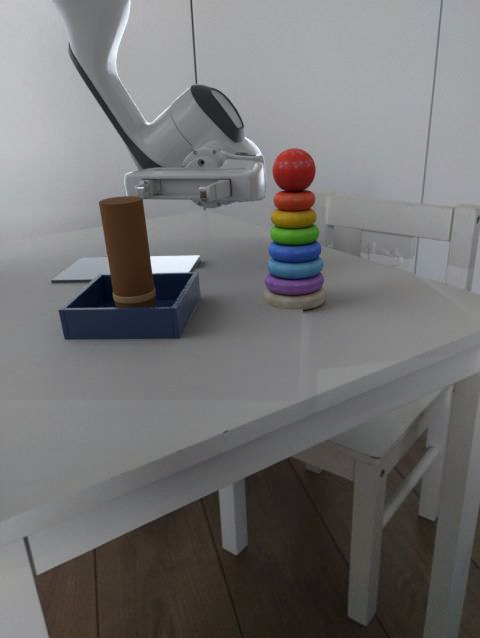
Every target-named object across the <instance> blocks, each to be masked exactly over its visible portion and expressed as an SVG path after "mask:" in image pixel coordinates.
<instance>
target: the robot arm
mask: <svg viewBox="0 0 480 638" xmlns="http://www.w3.org/2000/svg"><path fill="white" fill-rule="evenodd" d="M131 1H132V0H49V2H50V3H51V5H52V6H53V7H54V9H55V10H56V12H57V13H58V15H59V18H60V19H61V21H62V24H63V26H64V29H65V31H66V34H67V37H68V38H67V39H68V44H67V52H68V55H69V58H70V59H71V62H72V64H73V66H74V68H75V69H76V71H77V73H78V74H79V76H80V77H81V79H82V81H83V82H84V84H85V85H86V87H87V89H88V91H89V92H90V94H91V95H92V96H93V98H94V99H95V101H96V103H97V104H98V105H99V107H100V108H101V110H102V112H103V113H104V115H105V117H106V118H107V119H108V121H109V122H110V124H111V125H112V127H113V128H114V130H115V131H116V133H117V134H118V136H119V138H120V139H121V141H122V142H123V143H124V145H125V147H126V149H127V152H128V153H129V155H130V157H131V159H132V161H133V163H134V165H135V167H136V169H137V170H134V171H129V172H127V173H124V176H123V182H124V189H125V190H124V191H125V193H126V196H136V197H141V198H142V199H143V200H164V201H165V200H167V201H168V200H170V201H171V200H174V201H176V200H177V201H179V200H181V201H182V200H183V201H191V202H192V203H194V204H195V205H197V206H198V207H201V208H204V209H217V208H219V207H222V206H228V205H231V204H235V203H244V202H245V203H247V202H260V201H263V200H265V199H266V195H267V172H266V171H267V170H266V164H265V163H266V162H265V156H264V155H263V154H262V152H261V150H260V148H259V147H258V146H257V144H256V143H255V142H254V141H252V140H251V139H249V138H247V137H246V130H245V123H244V121H243V119H242V116H241V114H240V113H239V111H238V109H237V107H236V106H235V105H234V104H233V102H232V100H230V98H229V97H228V96H227V95H226V94H225V93H223V91H221V90H219V89H218V88H215V87H212V86H209V85H207V84H202V83H193V84H191V85H190V86H189V87H188V88H187V89H186V90H185V91H183V92H182V93H181V94H180V95H179V96H178V97H177V98H175V100H173V101H172V103H170V105H168V106H167V108H166V109H165V110H163V112H161V113H160V114H159V115H158V116H157V117H156V118H155V119H154V120H153V121H152V122H148V121H147V120H146V119H145V117H144V115H143V114H142V112H141V110H140V109H139V107H138V106H137V105H136V103H135V101H134V100H133V98H132V96H131V95H130V93H129V92H128V90H127V89H126V87H125V86H124V85H125V84H124V83H123V82H122V81H121V79H120V75H119V73H118V68H117V57H118V51H119V47H120V44H121V41H122V38H123V35H124V32H125V30H126V27H127V25H128V22H129V17H130V12H131V5H132V4H131Z"/></svg>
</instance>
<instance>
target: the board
mask: <svg viewBox="0 0 480 638" xmlns="http://www.w3.org/2000/svg"><path fill="white" fill-rule="evenodd" d="M150 259H151V267H152V273H182V272H193V270H196V269H197V267H198V266H199V264H200V263H201V261H202V260H201V255H199V254H197V255H196V254H195V255H193V254H192V255H157V256H156V255H150ZM99 274H110V269H109V262H108V256H102V257H101V256H99V257H97V256H94V257H80V258H79V259H77V260H76V261H75V262H73V263H71V265H70V266H68V267H66V268H65V269H64V270H63V271H61V272H59V274H57V275H56V276H55V277H53V278H52V279H51V280H50V283H51V284H77V283H78V284H79V283H81V284H82V283H86V284H88V283H90V282H91V281H92V280H93V279H94V278H95V277H96V276H97V275H99Z"/></svg>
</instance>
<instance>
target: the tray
mask: <svg viewBox="0 0 480 638" xmlns="http://www.w3.org/2000/svg"><path fill="white" fill-rule="evenodd" d="M152 274H153V282H154V287H155V291H156V295H155V298H156V305H157V307H125V308H116V306H115V301H114V299H113V287H112V281H111V275H110V274H99V275H97V276H96V277H95V278H94V279H93V280H92V281H91V282H90V283H86V285H85V286H83V288H82V289H81V290H79V291H78V292H77V293H76V294H75V295H73V296H72V298H70V299H69V300H68V301H67V302H66V303H65V304H63V306H61V307H60V308H59V309H58V314H59V320H60V324H61V329H62V334H63V339H64V340H68V341H69V340H70V341H71V340H74V341H75V340H179V339H181V337H182V335H183V333H184V332H185V329H186V328H187V325H188V323H189V322H190V320H191V318H192V316H193V314H194V312H195V311H196V308H197V306H198V305H199V303H200V301H201V299H202V298H201V297H202V295H201V285H200V284H201V283H200V274H199V272H198V271H192V272H182V273H152Z"/></svg>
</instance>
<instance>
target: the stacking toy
mask: <svg viewBox="0 0 480 638" xmlns="http://www.w3.org/2000/svg"><path fill="white" fill-rule="evenodd" d="M316 172H317V171H316V163H315V160H314V158H313V157H312V156H311V155H310V154H309V152H307V151H306V150H304V149H301V148H296V147H295V148H288V149H285V150H283V151H281V152H280V153H279V154H278V155H277V156H276V157H275V160H274V161H273V165H272V177H273V180H274V182H275V185H276V186H277V187H278V188H279V189H280V191H277V192H276V193H275V194H274V196H273V205H274V207H275V208H276V209H275V210H273V211H272V213H271V215H270V221H271V223H272V224H273V226H272V227H271V228H270V233H269V234H270V239H271V241H272V242H271V243H269V246H268V254H269V257H270V258H269V260H268V261H267V271H268V273H267V274H266V276H265V277H264V284H265V287H266V289H265V291H264V292H263V298H264V301H265V303H266V304H268V305H269V306H271V307H273V308H278V309H284V310H285V309H286V310H302V311H308V310H311V309H315V308H318V307H320V306H321V305H322V304H324V302H325V301H326V299H327V290H326V288H325V287H324V286H323V285H324V283H325V277H324V275H323V273H322V270H323V267H324V260H323V258H322V257H321V256H320V255H321V253H322V245H321V243H320V241H318V239H319V237H320V229H319V227H318V226H317V225H316V224H315V223H316V221H317V216H318V215H317V213H316V211H315V210H314V209H313V208H312V207H313V206H314V205H315V203H316V195H315V193H314V192H313V191H311V190H309V189H308V188H309V187H310V186H311V185H312V183H313V182H314V180H315V177H316Z"/></svg>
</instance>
